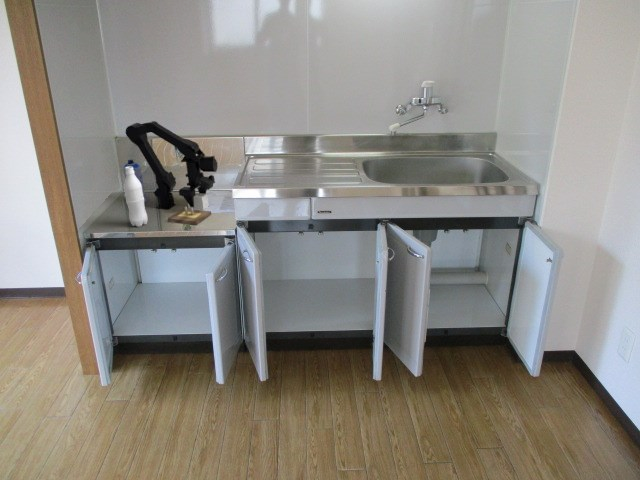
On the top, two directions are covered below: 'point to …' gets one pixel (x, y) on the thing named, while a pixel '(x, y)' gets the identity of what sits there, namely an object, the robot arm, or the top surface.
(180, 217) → the board
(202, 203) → the block
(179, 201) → the top surface
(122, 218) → the top surface
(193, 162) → the robot arm
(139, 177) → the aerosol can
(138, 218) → the water bottle
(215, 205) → the top surface
